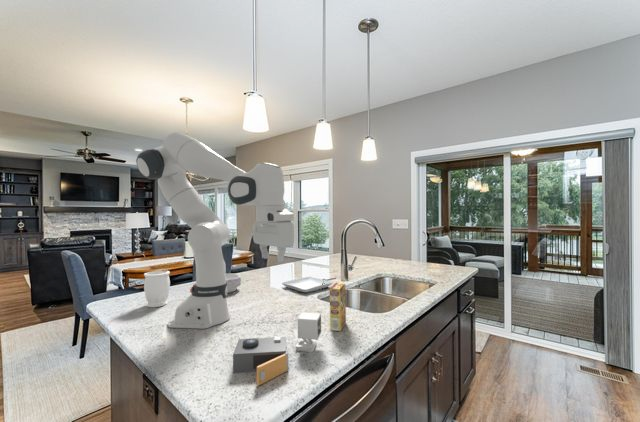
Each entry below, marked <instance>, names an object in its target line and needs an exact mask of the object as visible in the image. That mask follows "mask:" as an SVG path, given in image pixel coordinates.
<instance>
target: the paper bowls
mask: <svg viewBox="0 0 640 422" xmlns="http://www.w3.org/2000/svg"><path fill="white" fill-rule="evenodd" d="M226 283H227V294H229V293H233V292H235V291H236V290H237V289H238V288H239V286H241V284H242V276H241V274H238V273H226Z"/></svg>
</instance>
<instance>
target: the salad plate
mask: <svg viewBox="0 0 640 422" xmlns="http://www.w3.org/2000/svg"><path fill="white" fill-rule="evenodd" d="M323 280H324V283H325V284H323V285H322V283H323ZM333 283H334V282H333V281H330V280H325V279H321V278H318V277H317V278H316V277H312V276H305V277H301V278H296V279H292V280H287V281H283V282H281V284H282V285H283V286H284V287H285V288H288V289H291V290H295V291H298V292H302V293H305V294H306V293H310V292H311V293H312V292H315V291H319V289H320V290H322V288H323V289H326V288H329V287H330V286H332V285H333Z"/></svg>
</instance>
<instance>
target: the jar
mask: <svg viewBox="0 0 640 422" xmlns="http://www.w3.org/2000/svg"><path fill="white" fill-rule="evenodd" d="M169 275H170V270H153V271H148V272H144V273H143V276H144V277H145V278H144V283H143V284H144V285H143V290H144V295H145V299H146V302H147V304H146V306H147V307H148V308H158V307H163V306H166V305H168V303H169V301H168V298H169V294H170V287H171V280H170V276H169Z"/></svg>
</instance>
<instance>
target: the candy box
mask: <svg viewBox="0 0 640 422" xmlns="http://www.w3.org/2000/svg"><path fill="white" fill-rule="evenodd" d="M346 299H347V298H346V283H345V282H335V283H334V284H332V285H331V287H329V319H330V320H329V325H330V326H329V328H330V329H329V330H330V331H335V332H341V331H342V329H343V328H344V326H345V325H346V322H347V312H346V311H347V309H346V308H347V307H346V306H347V305H346Z"/></svg>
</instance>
